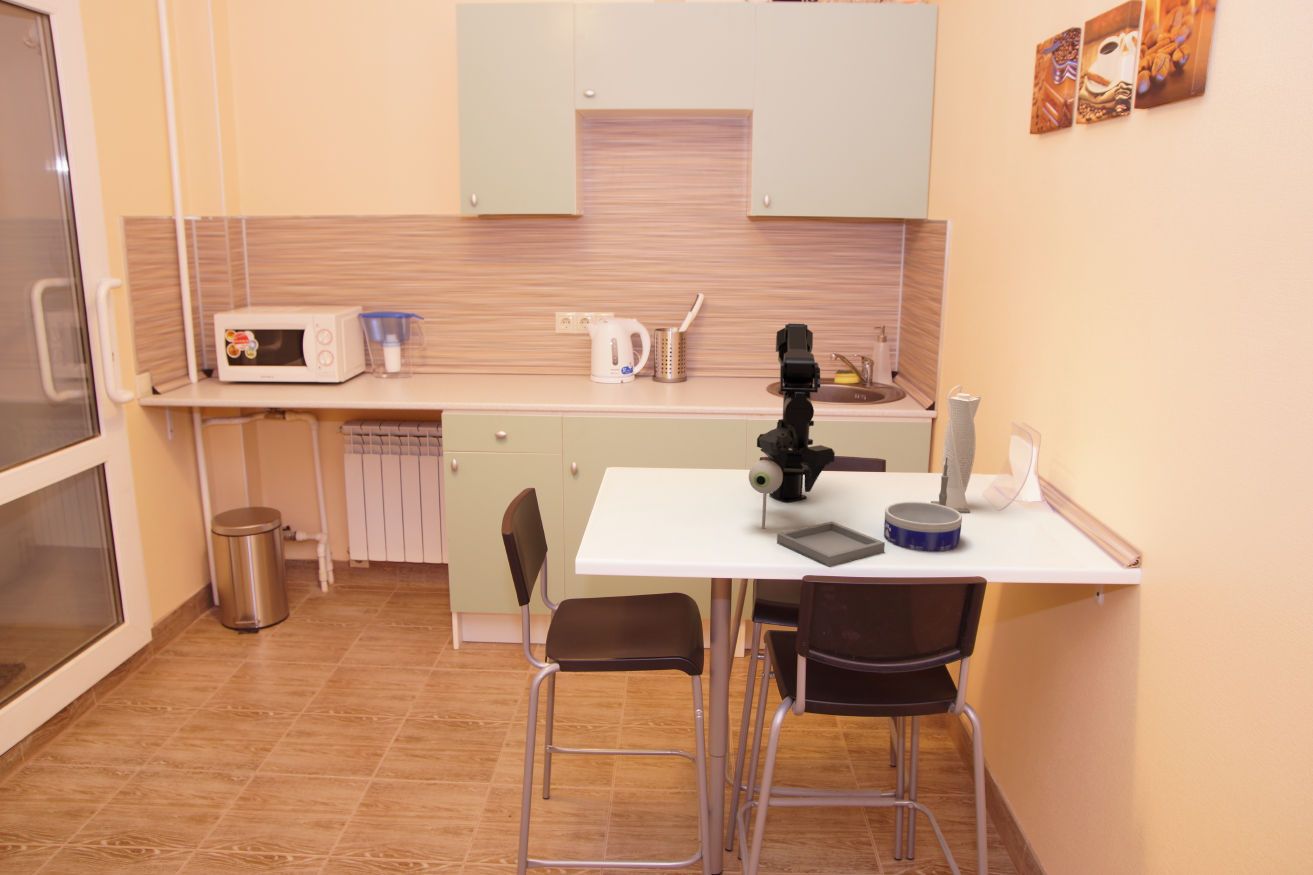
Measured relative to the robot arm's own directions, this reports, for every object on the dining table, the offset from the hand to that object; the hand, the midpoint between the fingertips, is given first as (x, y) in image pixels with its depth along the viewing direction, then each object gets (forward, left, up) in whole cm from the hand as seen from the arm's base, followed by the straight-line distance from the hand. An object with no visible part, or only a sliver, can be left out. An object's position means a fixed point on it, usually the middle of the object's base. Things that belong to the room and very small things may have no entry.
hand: (792, 486), depth 196 cm
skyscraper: (-39, +11, -8) cm, 42 cm away
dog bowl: (-16, +22, -9) cm, 29 cm away
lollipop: (+8, 0, -8) cm, 11 cm away
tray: (+4, +16, -8) cm, 18 cm away
